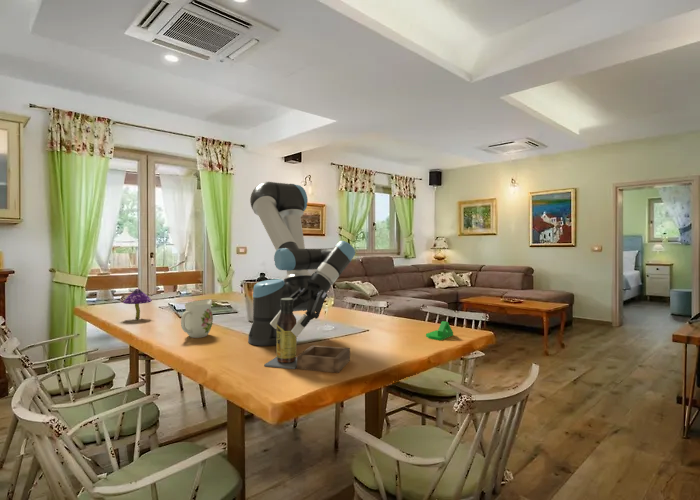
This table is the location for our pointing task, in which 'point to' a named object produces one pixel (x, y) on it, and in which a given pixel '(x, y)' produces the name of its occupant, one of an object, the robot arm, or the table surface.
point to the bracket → (441, 332)
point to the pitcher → (197, 318)
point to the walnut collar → (323, 358)
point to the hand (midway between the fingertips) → (282, 330)
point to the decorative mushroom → (137, 300)
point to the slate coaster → (281, 364)
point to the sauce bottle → (286, 332)
